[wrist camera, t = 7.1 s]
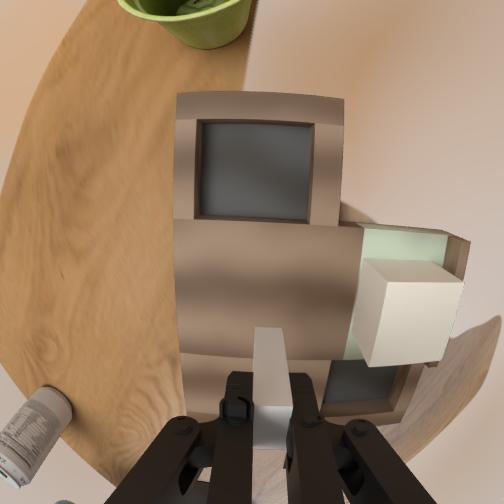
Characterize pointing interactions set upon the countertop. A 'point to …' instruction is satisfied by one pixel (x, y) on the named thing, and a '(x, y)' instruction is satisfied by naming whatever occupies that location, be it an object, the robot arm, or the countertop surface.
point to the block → (404, 311)
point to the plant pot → (195, 19)
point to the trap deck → (280, 252)
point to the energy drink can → (32, 435)
